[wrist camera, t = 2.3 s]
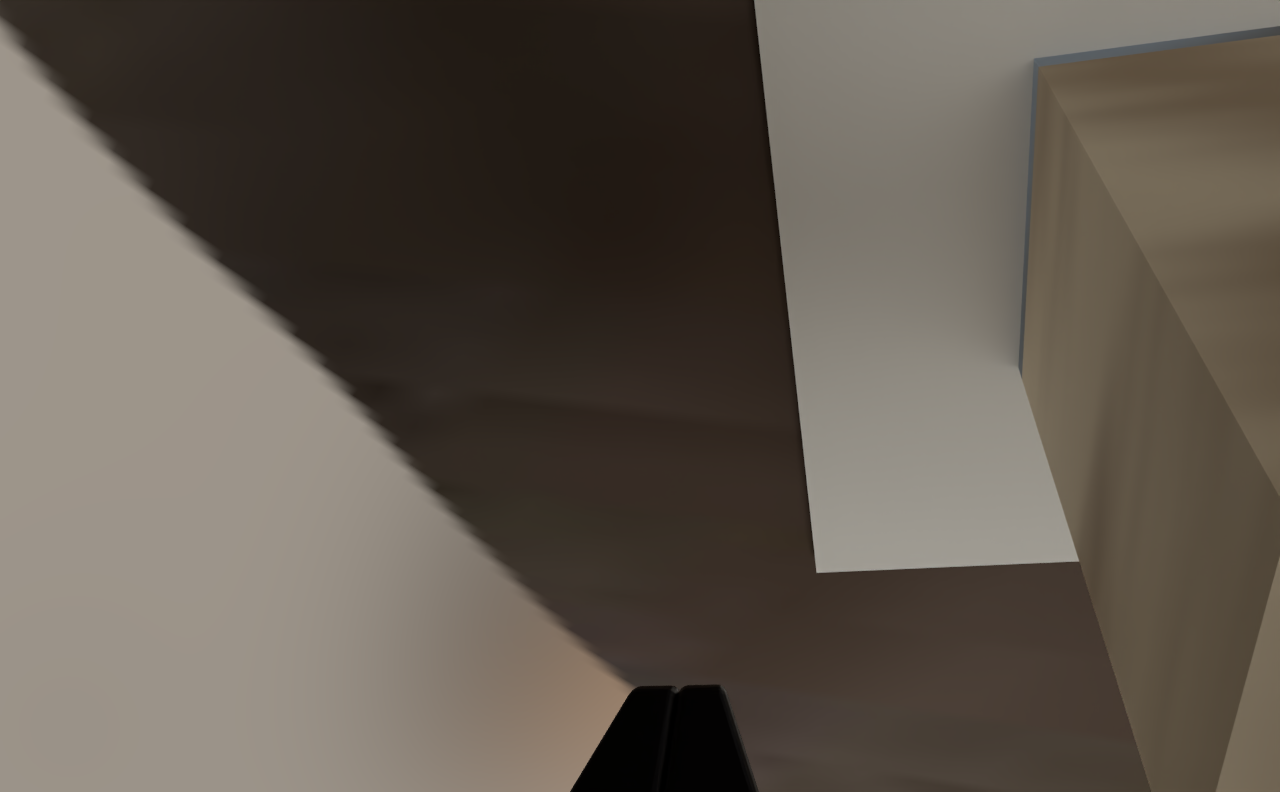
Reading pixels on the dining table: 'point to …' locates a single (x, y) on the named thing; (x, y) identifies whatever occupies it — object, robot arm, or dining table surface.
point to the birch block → (1166, 381)
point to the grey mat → (925, 260)
